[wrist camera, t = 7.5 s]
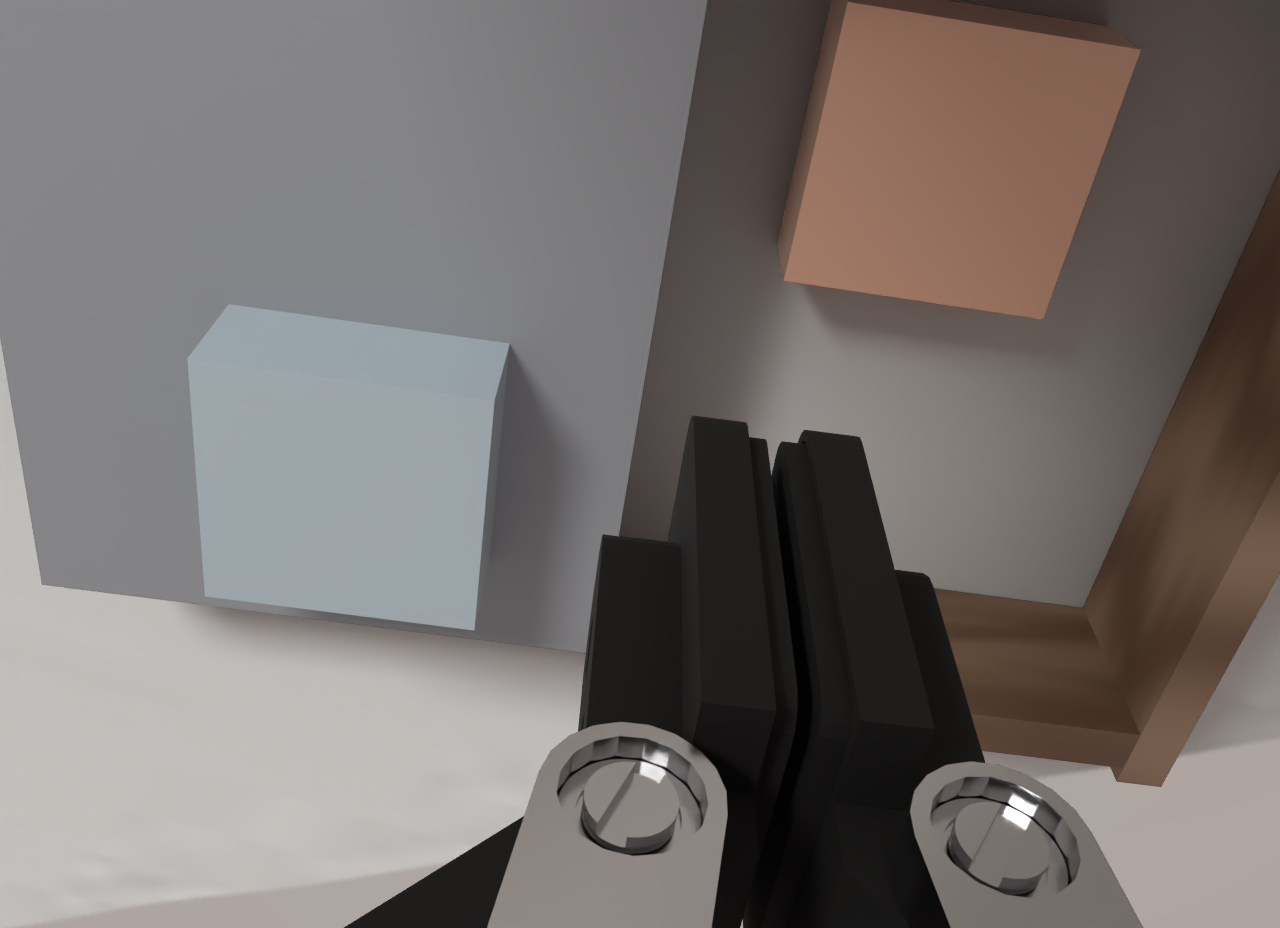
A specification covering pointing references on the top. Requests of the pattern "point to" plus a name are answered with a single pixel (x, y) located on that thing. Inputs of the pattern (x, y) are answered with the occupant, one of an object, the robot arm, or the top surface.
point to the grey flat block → (334, 250)
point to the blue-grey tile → (346, 465)
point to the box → (1152, 567)
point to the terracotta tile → (950, 151)
